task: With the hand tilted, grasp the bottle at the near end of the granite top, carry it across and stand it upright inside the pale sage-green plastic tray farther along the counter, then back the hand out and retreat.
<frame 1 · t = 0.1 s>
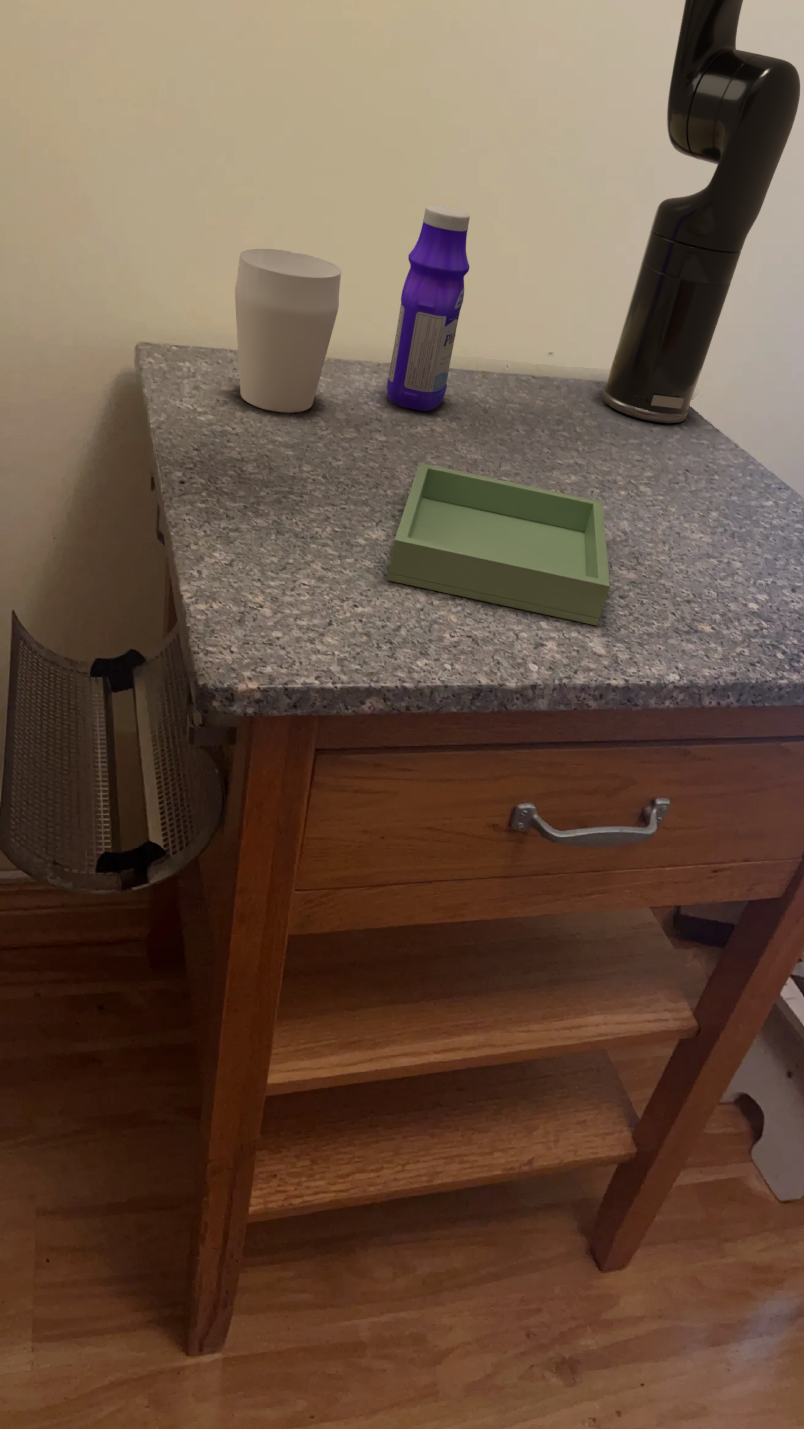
bottle: (413, 403, 102), on the table
cup: (276, 402, 95), on the table
tray: (497, 557, 76), on the table
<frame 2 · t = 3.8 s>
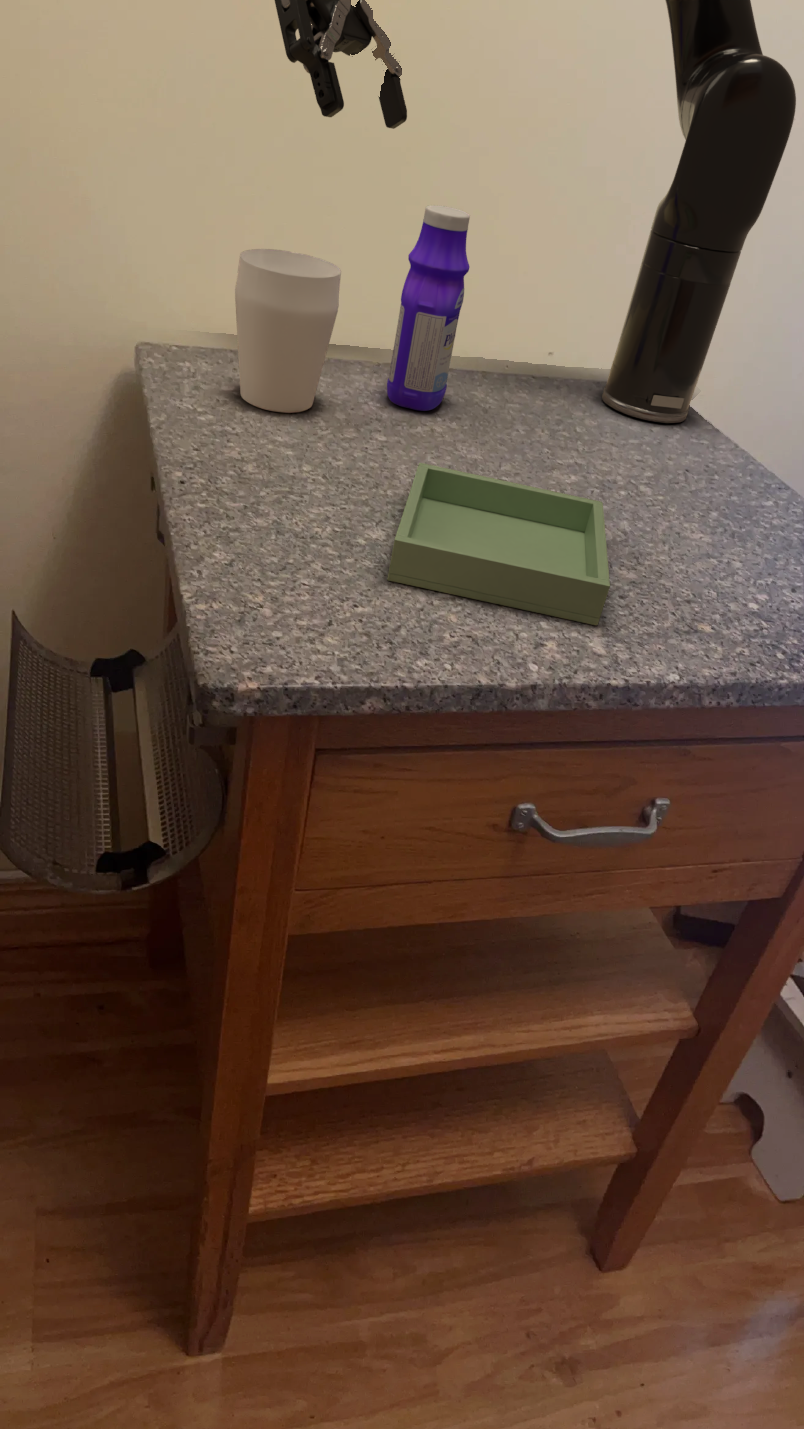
hand: (366, 119, 94), 22 cm above the table, tool tilted 35°, fingers open, 8 cm apart
nothing on the table moved.
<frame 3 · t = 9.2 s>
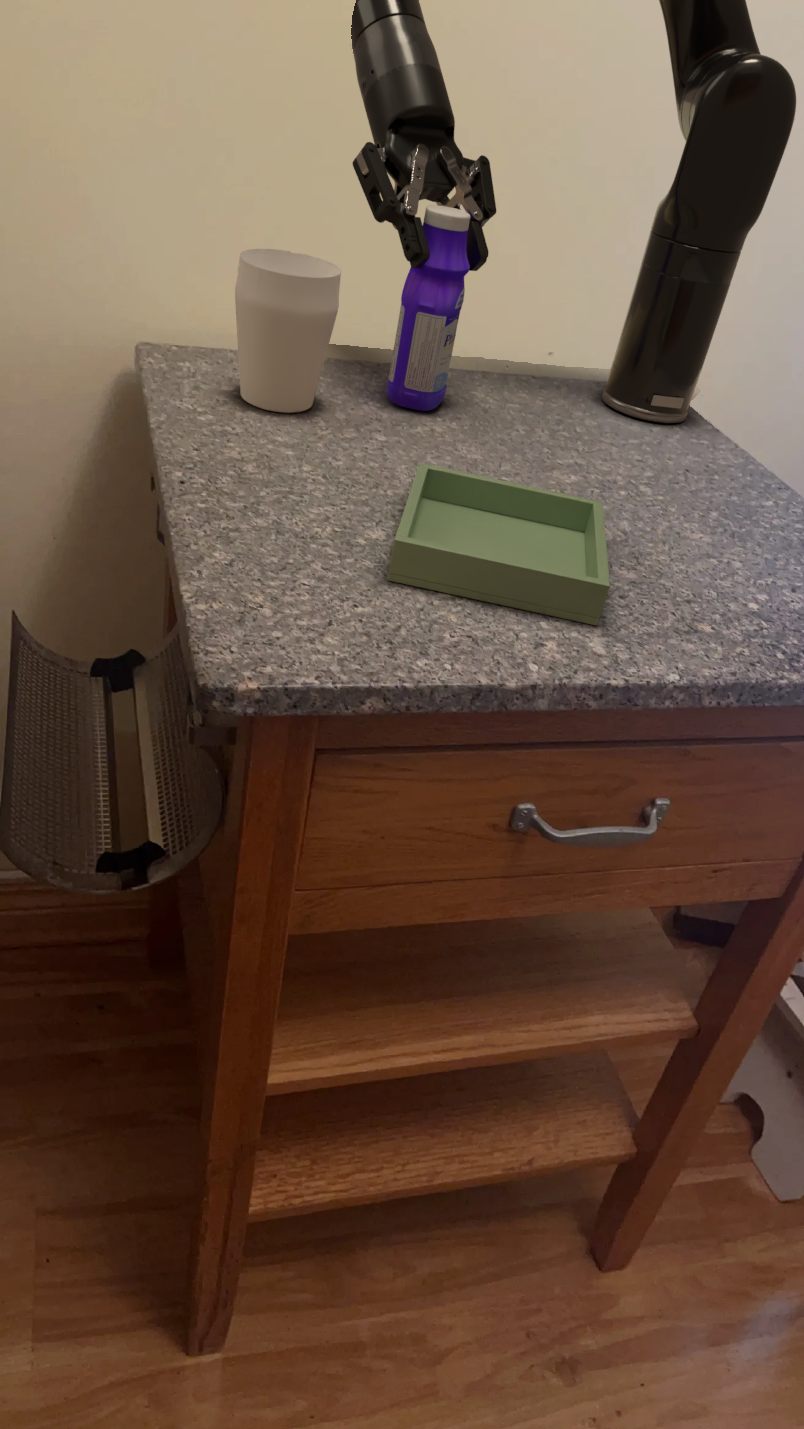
hand: (450, 264, 93), 13 cm above the table, tool tilted 45°, fingers closed on bottle, 5 cm apart
bottle: (413, 403, 102), on the table, touching gripper
everything else where it was.
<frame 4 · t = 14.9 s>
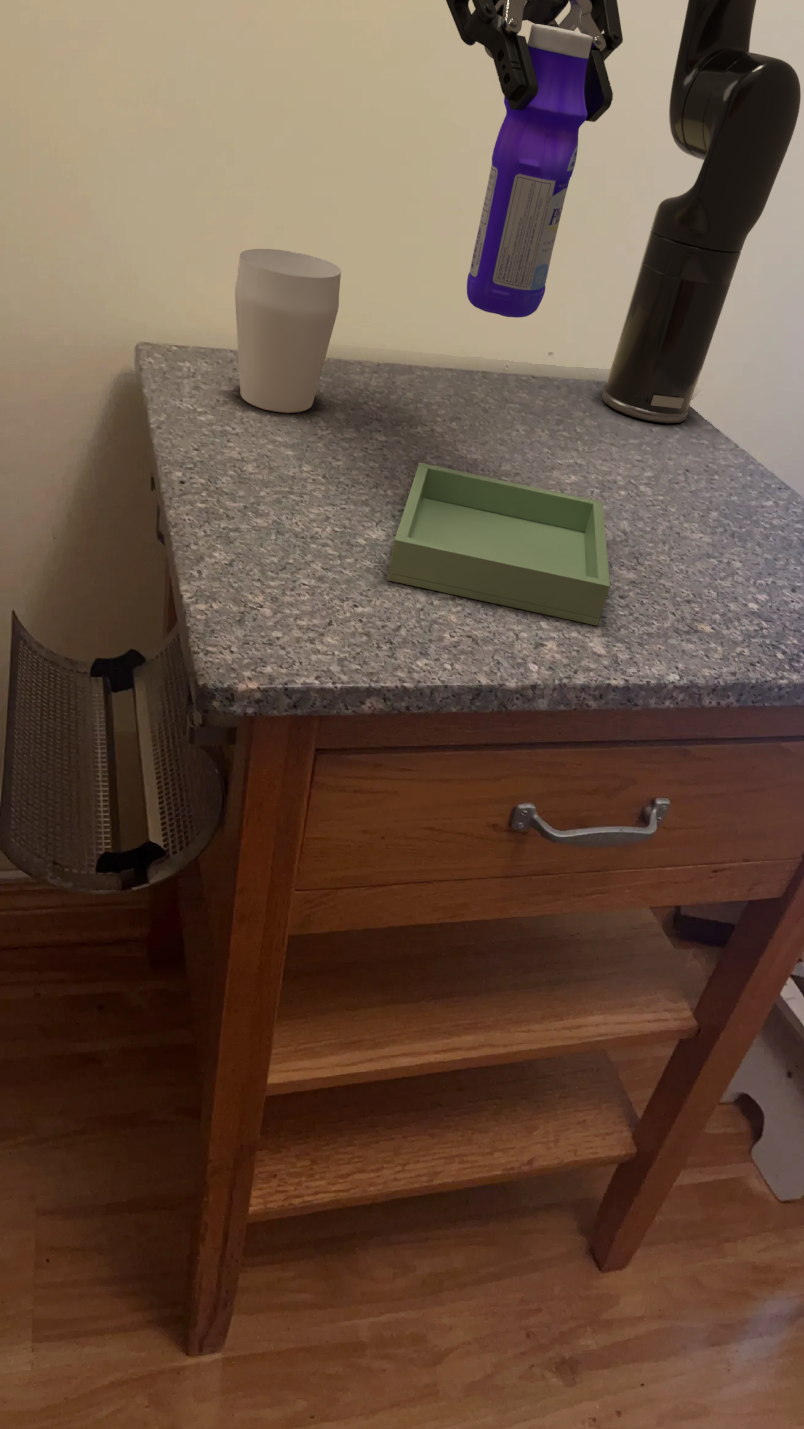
hand: (563, 107, 68), 28 cm above the table, tool tilted 45°, fingers closed on bottle, 5 cm apart
bottle: (500, 310, 76), point 15 cm above the table, touching gripper
everything else where it was.
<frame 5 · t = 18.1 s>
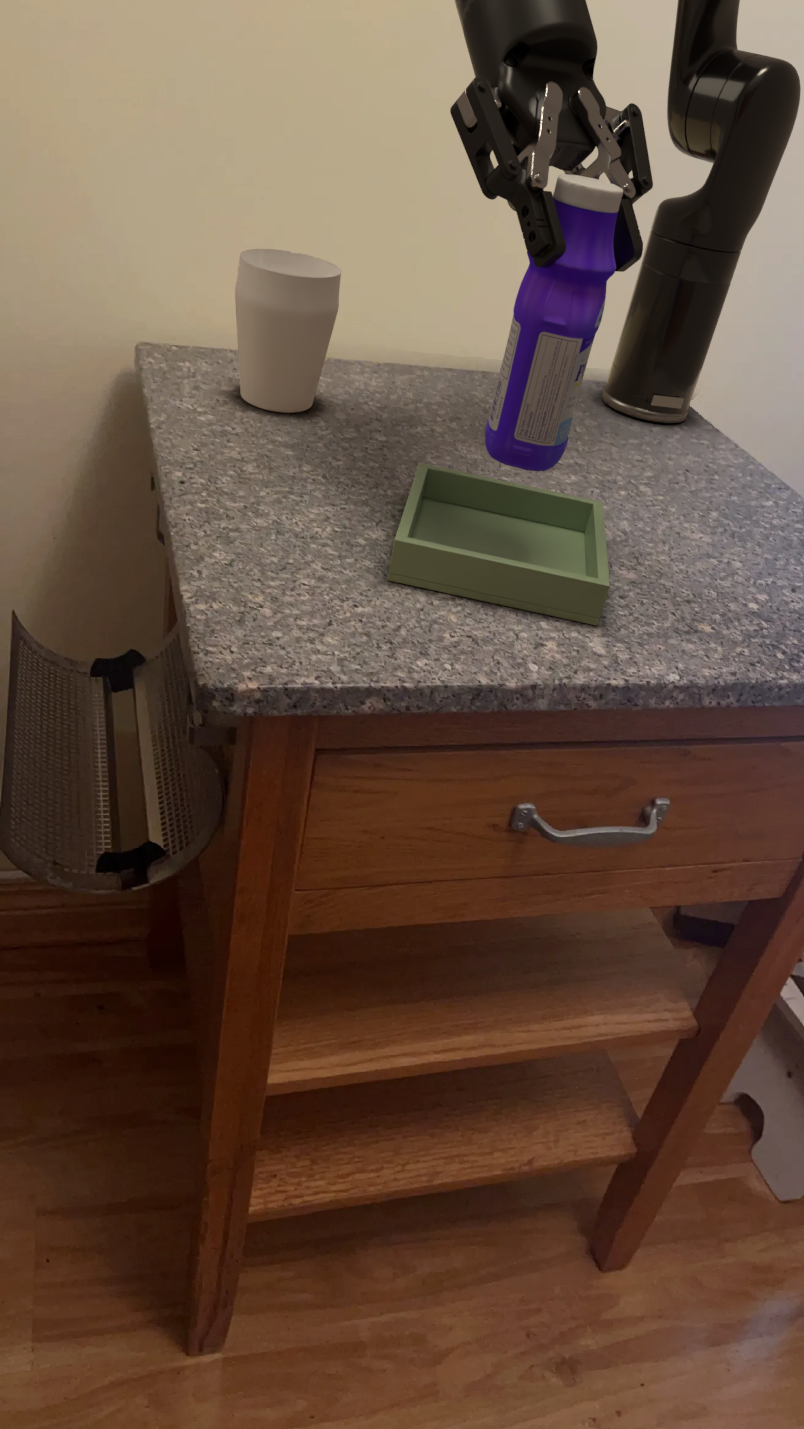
hand: (590, 262, 63), 21 cm above the table, tool tilted 45°, fingers closed on bottle, 5 cm apart
bottle: (520, 458, 72), point 8 cm above the table, touching gripper
everything else where it was.
when the fingers open (14 cm above the table, at t = 20.7 s): bottle stays where it is, resting on tray.
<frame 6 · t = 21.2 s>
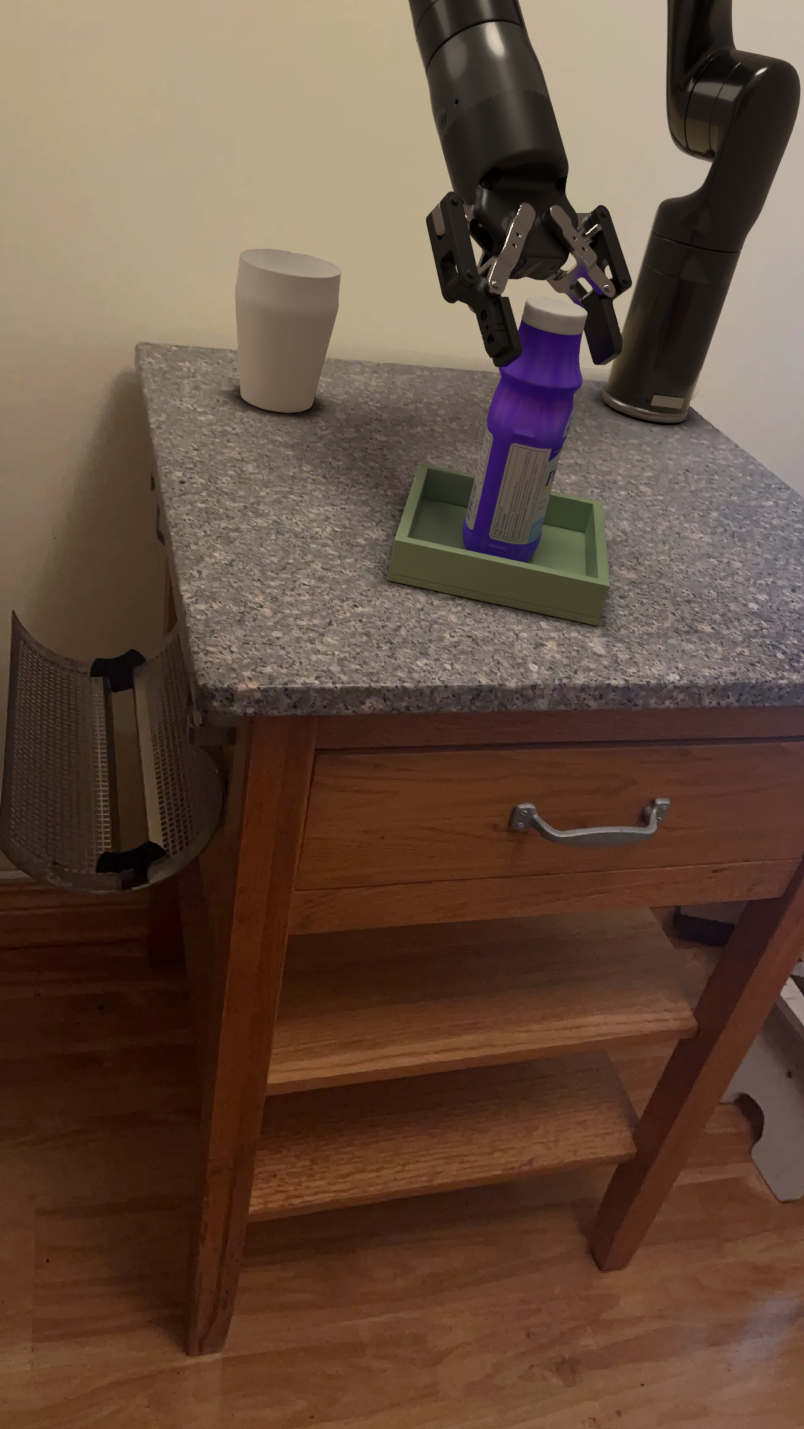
hand: (561, 361, 67), 15 cm above the table, tool tilted 45°, fingers open, 8 cm apart
bottle: (496, 551, 76), resting on tray
everything else where it was.
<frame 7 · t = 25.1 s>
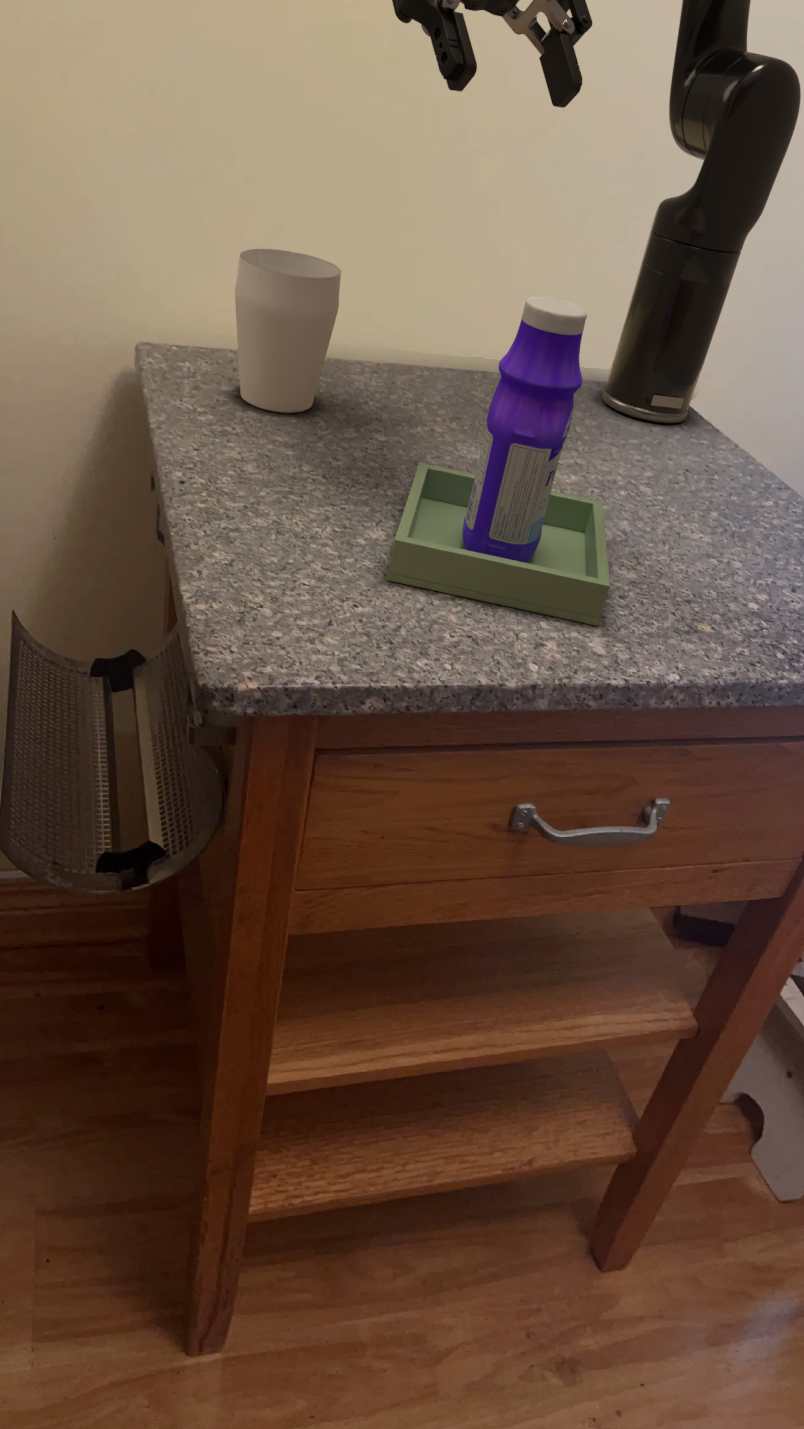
hand: (518, 91, 65), 29 cm above the table, tool tilted 45°, fingers open, 8 cm apart
nothing on the table moved.
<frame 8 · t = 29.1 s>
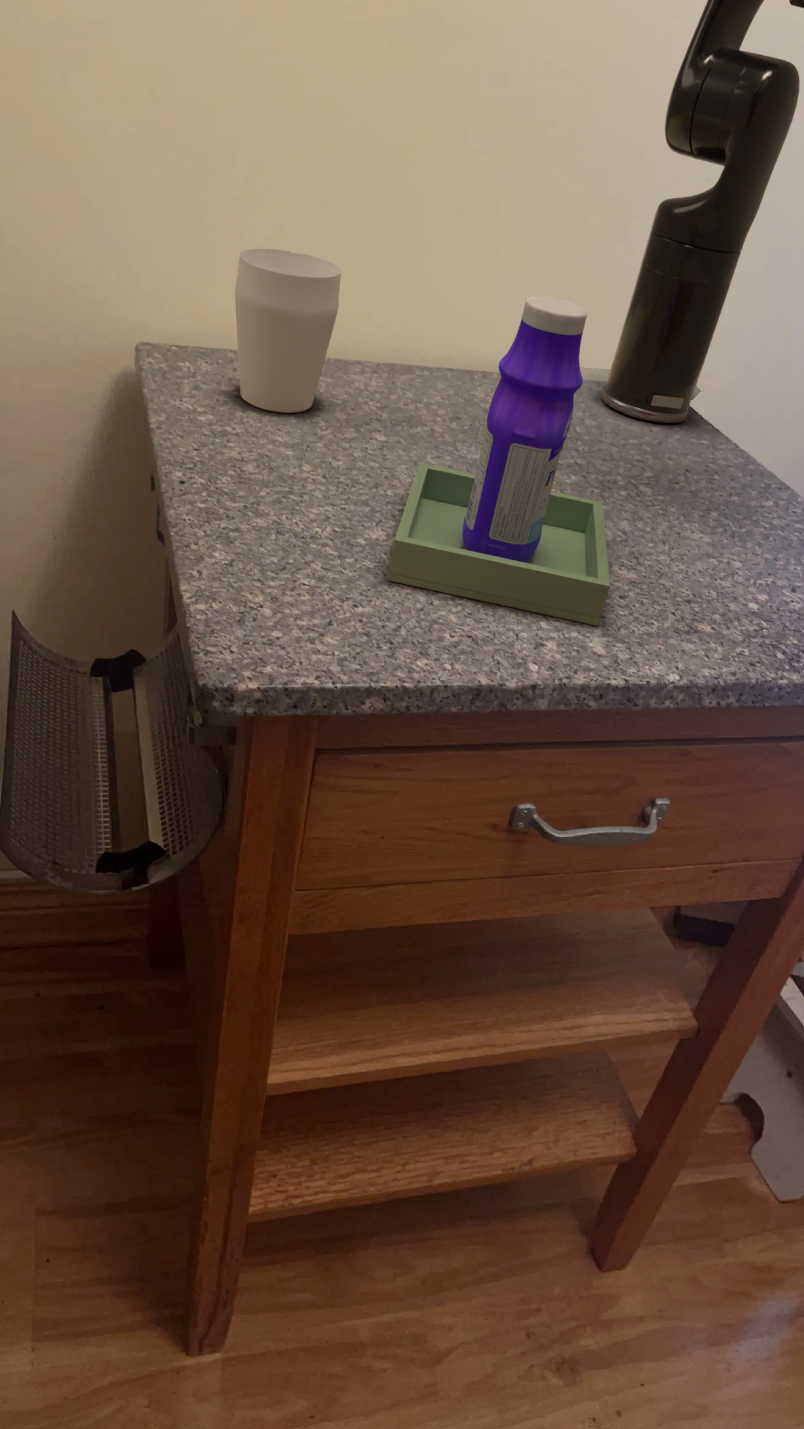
hand: (753, 0, 72), 36 cm above the table, tool pointing down, fingers open, 8 cm apart
nothing on the table moved.
at the end: bottle inside the target area in the tray (0.1 cm from its centre), point 0.4 cm above the tray's base; bottle tilted 0°; the gripper is holding nothing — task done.
